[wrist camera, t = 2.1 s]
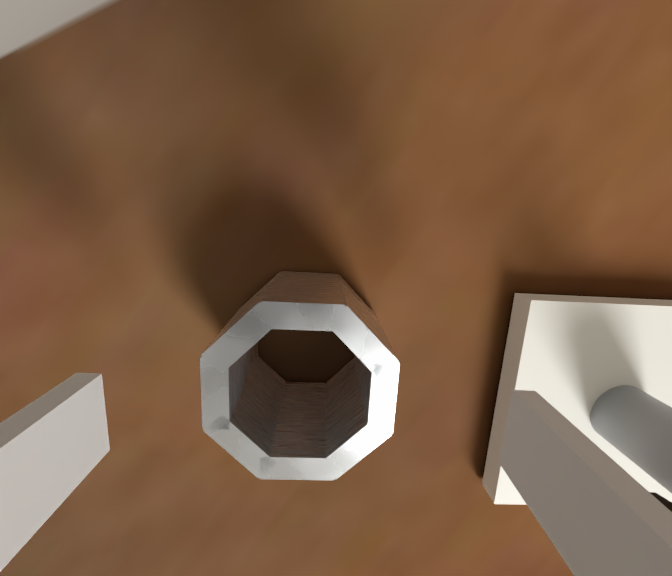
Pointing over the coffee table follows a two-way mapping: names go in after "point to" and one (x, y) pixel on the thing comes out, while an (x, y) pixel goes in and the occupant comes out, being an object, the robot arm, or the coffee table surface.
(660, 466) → the post
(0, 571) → the robot arm
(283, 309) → the tube
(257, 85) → the coffee table surface
